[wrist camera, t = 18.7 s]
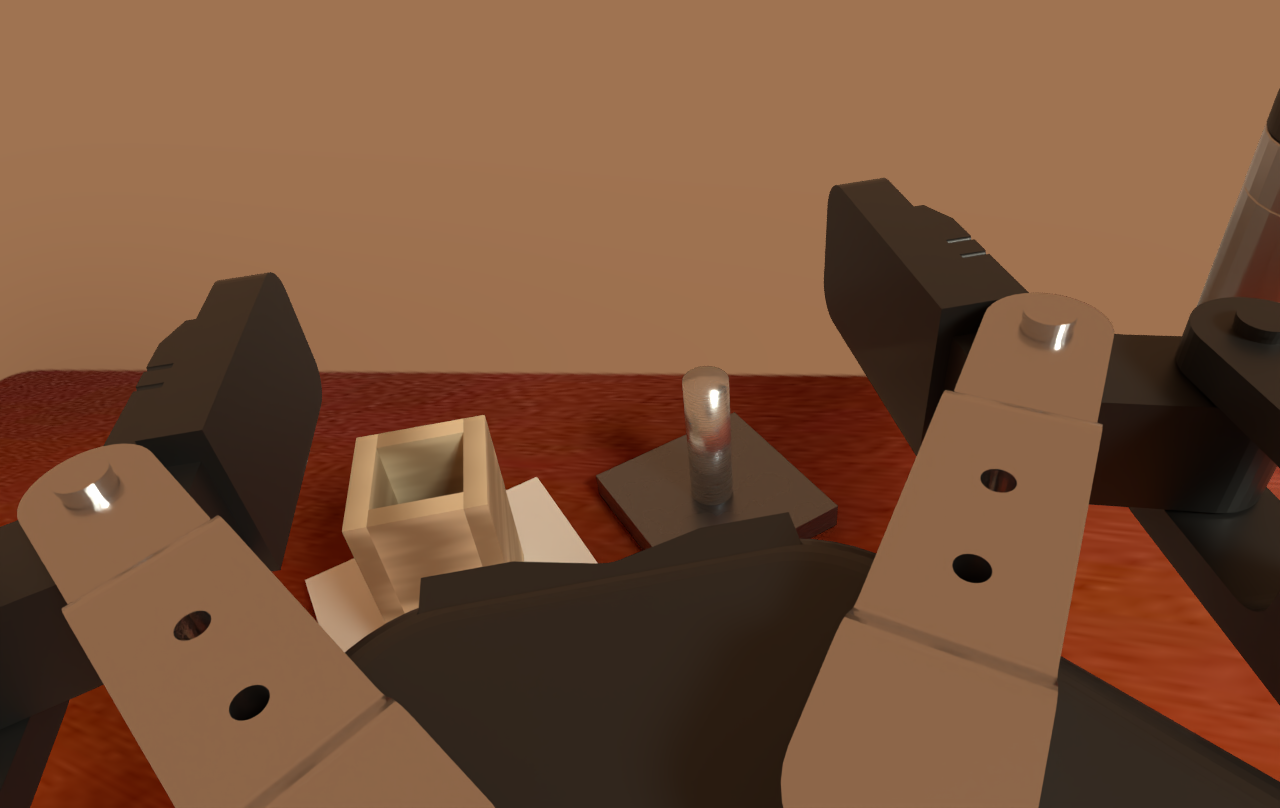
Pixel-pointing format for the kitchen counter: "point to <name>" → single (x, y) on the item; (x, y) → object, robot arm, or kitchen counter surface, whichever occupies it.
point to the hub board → (351, 604)
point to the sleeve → (426, 509)
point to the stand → (711, 475)
